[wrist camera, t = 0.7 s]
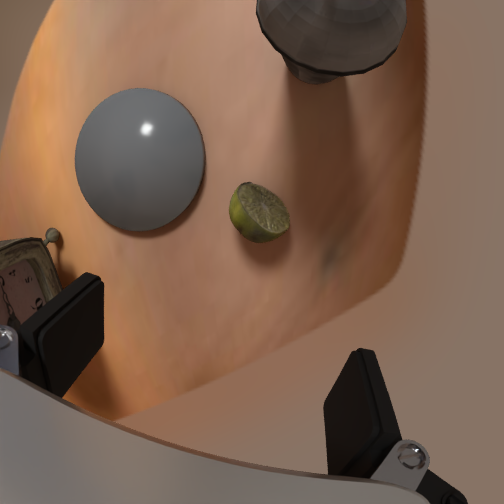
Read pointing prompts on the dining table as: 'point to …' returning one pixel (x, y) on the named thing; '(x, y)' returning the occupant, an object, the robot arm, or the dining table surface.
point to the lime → (258, 213)
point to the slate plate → (140, 159)
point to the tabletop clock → (26, 278)
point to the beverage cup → (332, 34)
